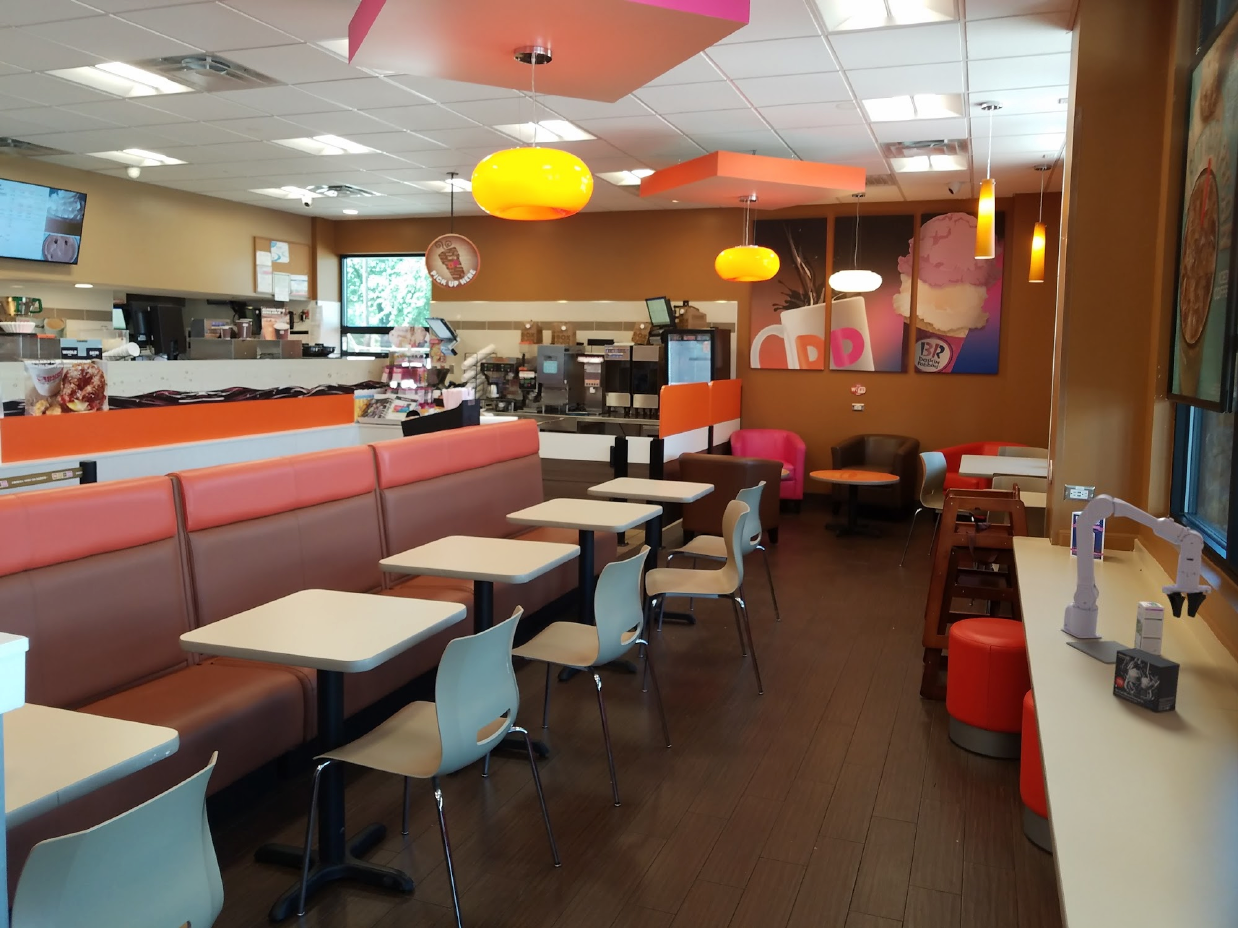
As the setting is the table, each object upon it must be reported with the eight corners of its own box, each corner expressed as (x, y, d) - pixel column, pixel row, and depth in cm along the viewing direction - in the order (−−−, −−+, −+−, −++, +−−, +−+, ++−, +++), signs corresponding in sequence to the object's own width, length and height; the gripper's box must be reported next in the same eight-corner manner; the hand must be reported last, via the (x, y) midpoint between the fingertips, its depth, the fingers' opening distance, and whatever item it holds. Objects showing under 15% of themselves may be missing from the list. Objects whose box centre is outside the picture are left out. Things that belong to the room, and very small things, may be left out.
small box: (1111, 694, 243) (1115, 649, 242) (1130, 691, 246) (1135, 647, 244) (1156, 713, 231) (1160, 666, 229) (1176, 710, 233) (1181, 663, 232)
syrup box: (1161, 655, 276) (1166, 607, 274) (1139, 653, 277) (1144, 605, 275) (1154, 649, 281) (1159, 602, 280) (1132, 647, 283) (1137, 600, 281)
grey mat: (1066, 643, 285) (1066, 641, 285) (1114, 642, 287) (1114, 640, 287) (1105, 663, 267) (1105, 661, 267) (1156, 662, 270) (1156, 660, 270)
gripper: (1176, 575, 273) (1171, 621, 275) (1221, 574, 275) (1216, 620, 277) (1159, 569, 280) (1154, 614, 282) (1202, 569, 282) (1197, 613, 284)
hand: (1183, 616), depth 280 cm, fingers open, 4 cm apart
